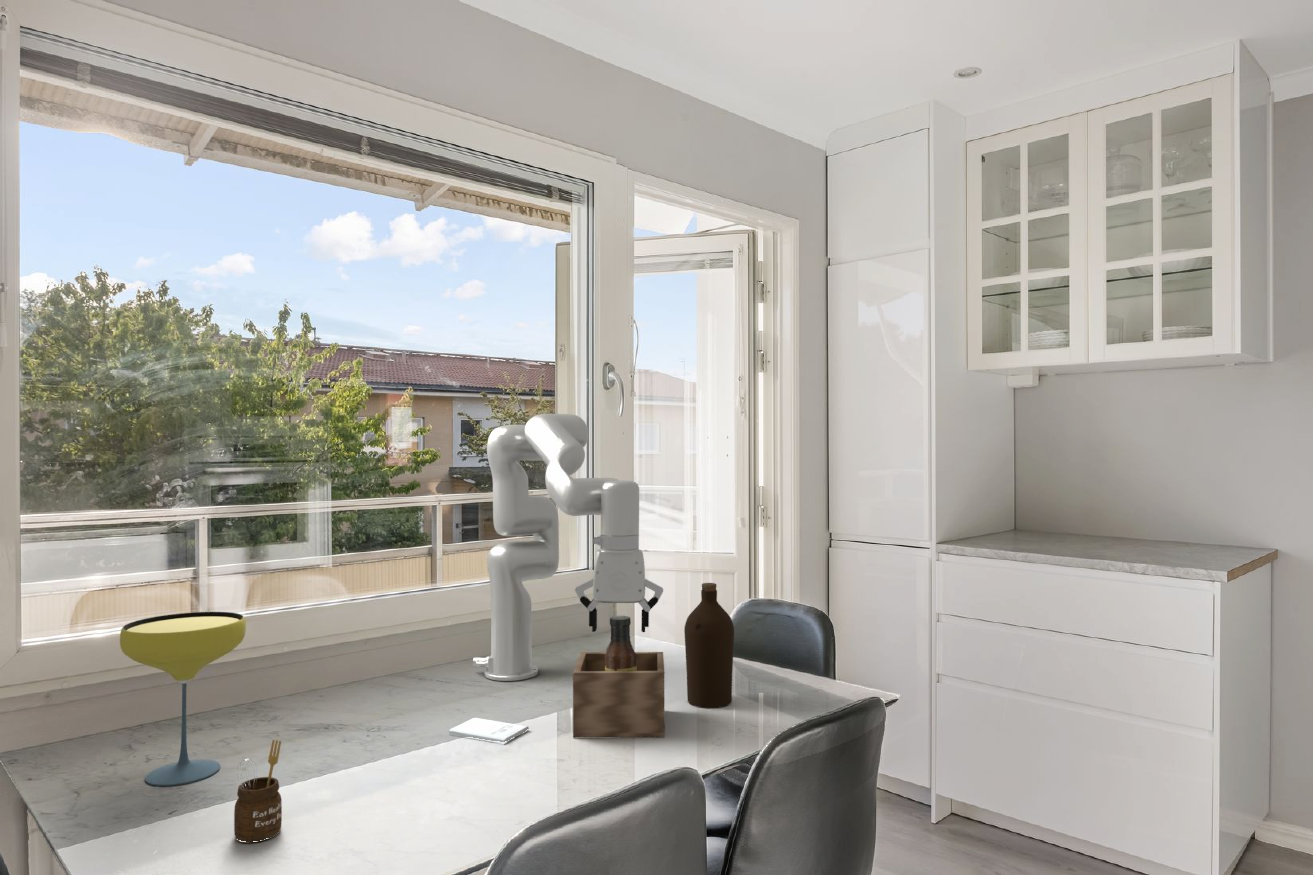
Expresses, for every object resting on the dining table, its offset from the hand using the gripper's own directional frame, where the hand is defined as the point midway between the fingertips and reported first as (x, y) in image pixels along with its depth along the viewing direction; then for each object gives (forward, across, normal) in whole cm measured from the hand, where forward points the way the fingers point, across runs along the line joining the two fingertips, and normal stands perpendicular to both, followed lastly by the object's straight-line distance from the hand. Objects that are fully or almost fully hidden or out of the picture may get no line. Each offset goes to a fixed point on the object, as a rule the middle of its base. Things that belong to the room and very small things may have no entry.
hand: (618, 630), depth 160 cm
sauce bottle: (+17, 0, 0) cm, 17 cm away
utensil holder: (+18, -48, -47) cm, 69 cm away
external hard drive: (+19, -24, -6) cm, 31 cm away
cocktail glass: (+19, -71, -25) cm, 77 cm away
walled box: (+18, 0, -1) cm, 18 cm away
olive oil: (+18, +19, +13) cm, 30 cm away
